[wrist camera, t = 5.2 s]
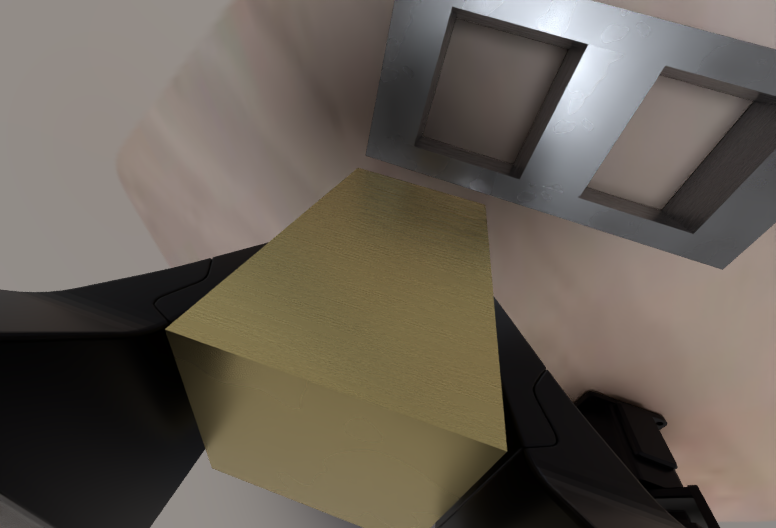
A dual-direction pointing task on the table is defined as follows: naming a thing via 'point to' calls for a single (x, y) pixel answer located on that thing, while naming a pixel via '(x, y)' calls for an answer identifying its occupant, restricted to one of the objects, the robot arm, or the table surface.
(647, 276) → the table surface
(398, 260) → the olive grained block
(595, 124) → the grey block holder tray
